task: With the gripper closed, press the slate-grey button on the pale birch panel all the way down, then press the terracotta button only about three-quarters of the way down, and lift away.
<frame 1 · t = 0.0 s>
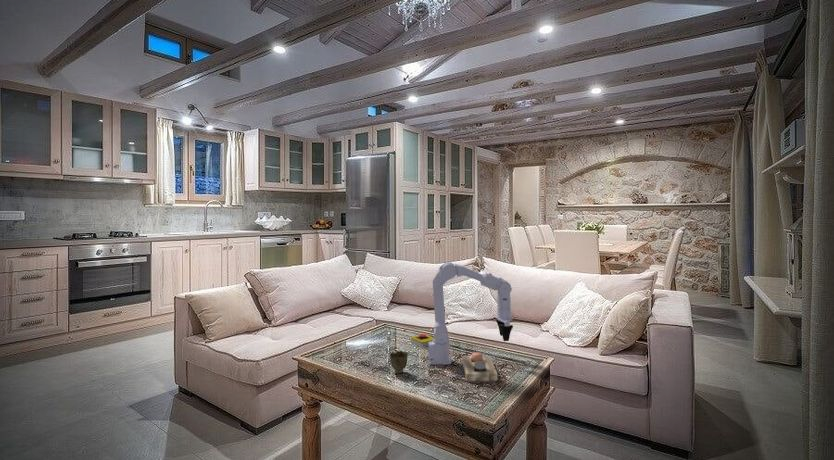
hand: (504, 338, 176), 10 cm above the table, fingers open, 7 cm apart
grey button: (480, 366, 159), point 4 cm above the table, slide at 0.0 cm
emergency button: (424, 344, 203), on the table
terracotta button: (477, 357, 169), point 4 cm above the table, slide at 0.0 cm
button panel: (478, 371, 164), on the table
cup: (399, 373, 165), on the table
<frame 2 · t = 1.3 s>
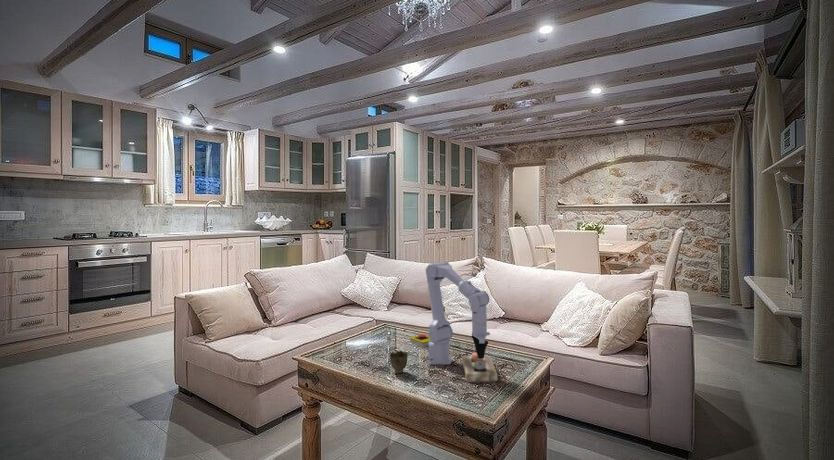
hand: (479, 355, 159), 8 cm above the table, fingers open, 5 cm apart
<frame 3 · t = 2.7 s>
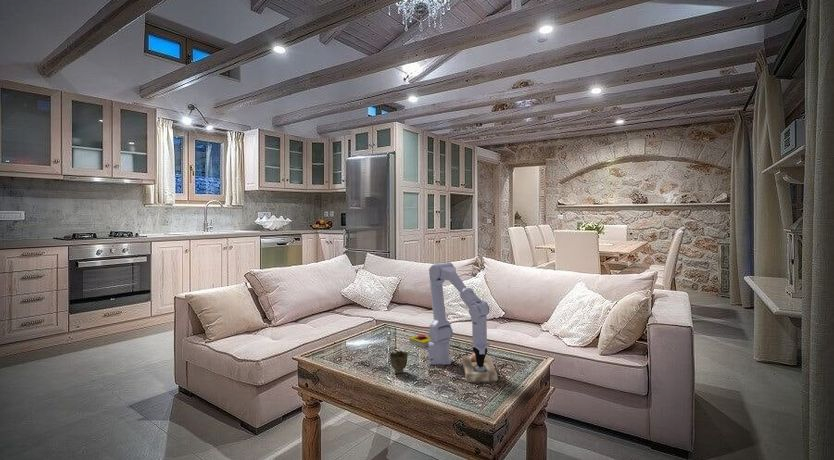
hand: (480, 366, 159), 4 cm above the table, fingers closed, pressing on grey button
grey button: (480, 369, 159), point 3 cm above the table, slide at 1.3 cm, touching gripper
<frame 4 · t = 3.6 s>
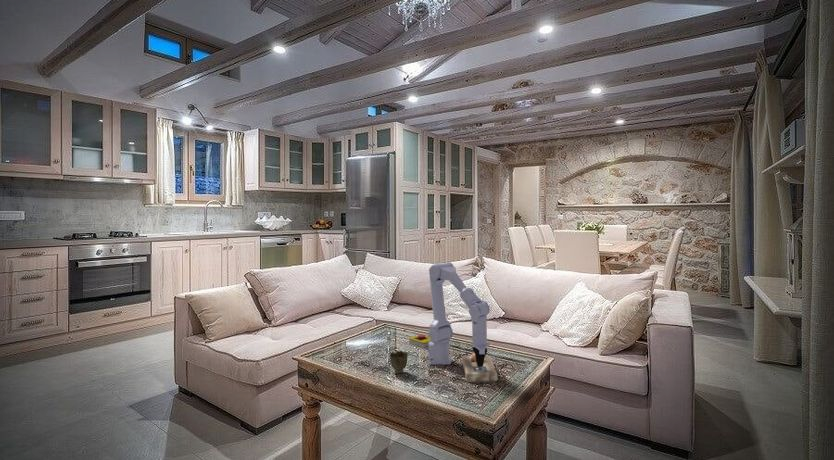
hand: (480, 365, 159), 4 cm above the table, fingers closed
grey button: (480, 371, 159), point 2 cm above the table, slide at 2.1 cm
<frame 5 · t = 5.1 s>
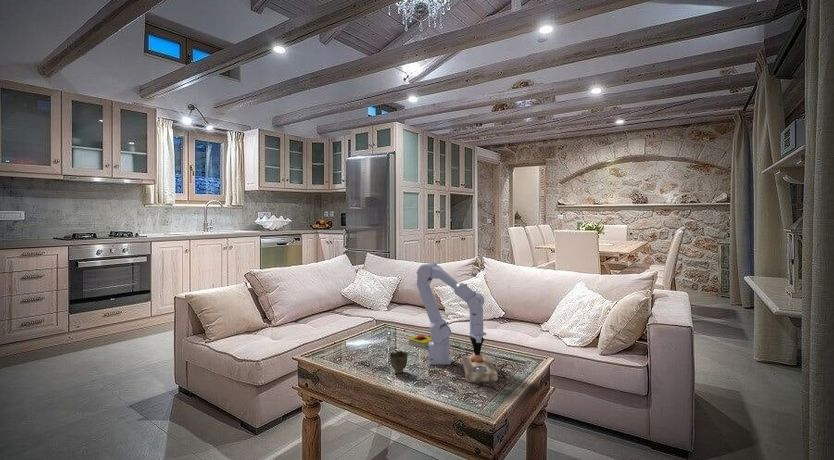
hand: (477, 354, 169), 5 cm above the table, fingers closed, pressing on terracotta button
terracotta button: (477, 357, 169), point 4 cm above the table, slide at 0.1 cm, touching gripper
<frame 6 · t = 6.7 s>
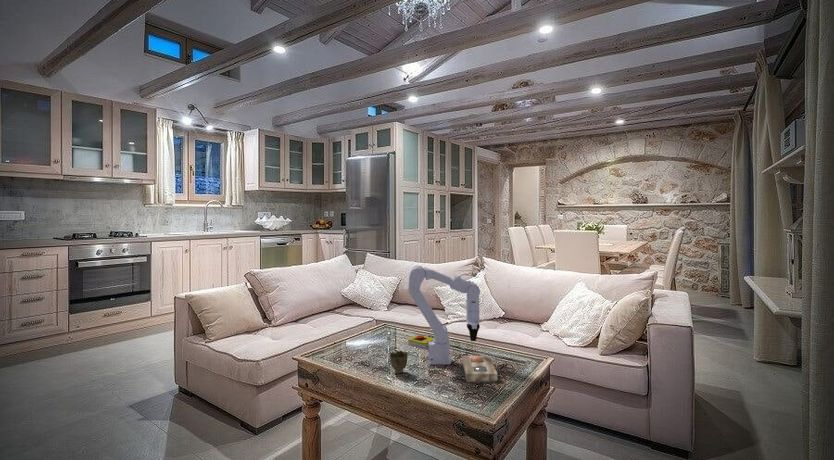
hand: (473, 340, 176), 9 cm above the table, fingers closed
terracotta button: (477, 361, 169), point 3 cm above the table, slide at 1.4 cm
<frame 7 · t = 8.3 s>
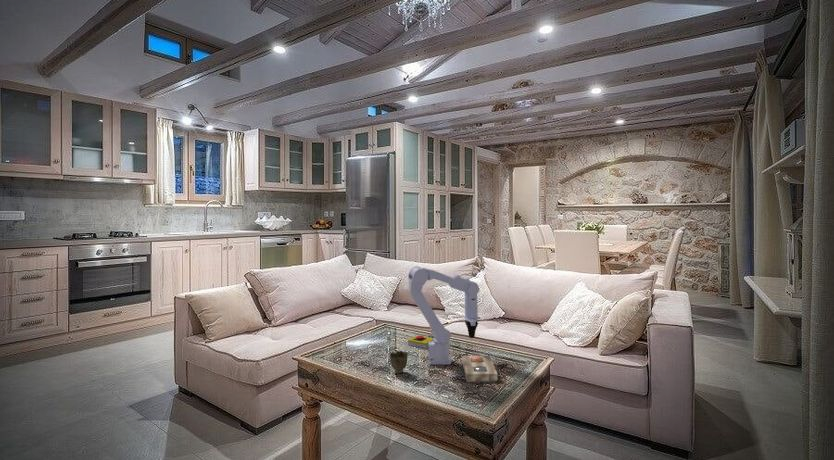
hand: (471, 337, 180), 9 cm above the table, fingers closed
at the end: grey button slide at 2.1 cm; terracotta button slide at 1.4 cm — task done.
